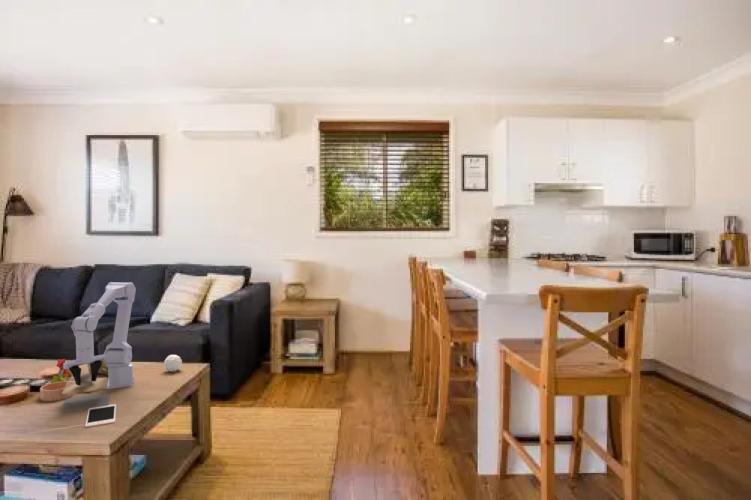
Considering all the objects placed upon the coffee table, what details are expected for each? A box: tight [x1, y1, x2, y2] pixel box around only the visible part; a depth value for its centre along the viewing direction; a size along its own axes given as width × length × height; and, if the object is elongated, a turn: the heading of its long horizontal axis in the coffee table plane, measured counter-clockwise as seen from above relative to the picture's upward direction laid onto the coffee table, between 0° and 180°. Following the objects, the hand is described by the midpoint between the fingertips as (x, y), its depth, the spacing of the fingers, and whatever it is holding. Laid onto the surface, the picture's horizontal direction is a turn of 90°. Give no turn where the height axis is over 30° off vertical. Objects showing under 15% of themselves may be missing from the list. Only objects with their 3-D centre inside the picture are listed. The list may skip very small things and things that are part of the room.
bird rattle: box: [49, 358, 70, 384], centre depth 201 cm, size 6×11×9 cm
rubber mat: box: [60, 392, 111, 414], centre depth 179 cm, size 15×15×1 cm
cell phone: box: [84, 403, 117, 429], centre depth 167 cm, size 9×18×1 cm, turn 28°
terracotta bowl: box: [39, 380, 75, 402], centre depth 185 cm, size 11×11×4 cm
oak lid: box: [62, 372, 109, 395], centre depth 178 cm, size 14×14×4 cm
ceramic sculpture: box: [86, 360, 108, 375], centre depth 215 cm, size 11×9×15 cm
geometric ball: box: [163, 354, 183, 372], centre depth 219 cm, size 8×8×8 cm
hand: (86, 382), depth 178 cm, fingers closed on oak lid, 5 cm apart
